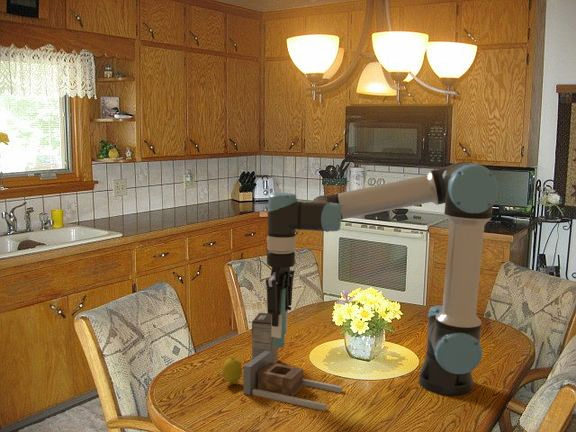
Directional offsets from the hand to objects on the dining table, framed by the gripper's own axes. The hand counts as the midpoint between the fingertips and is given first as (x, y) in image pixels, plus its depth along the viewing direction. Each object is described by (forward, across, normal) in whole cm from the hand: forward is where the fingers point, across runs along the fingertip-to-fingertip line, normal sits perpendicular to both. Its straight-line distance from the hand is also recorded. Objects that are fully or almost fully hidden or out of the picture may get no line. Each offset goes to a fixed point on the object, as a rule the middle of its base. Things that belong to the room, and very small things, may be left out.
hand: (279, 334), depth 167 cm
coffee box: (+17, -14, -11) cm, 25 cm away
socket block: (+16, 0, +1) cm, 16 cm away
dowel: (+3, 0, 0) cm, 3 cm away
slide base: (+17, 0, +5) cm, 17 cm away
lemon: (+17, +1, -14) cm, 22 cm away
